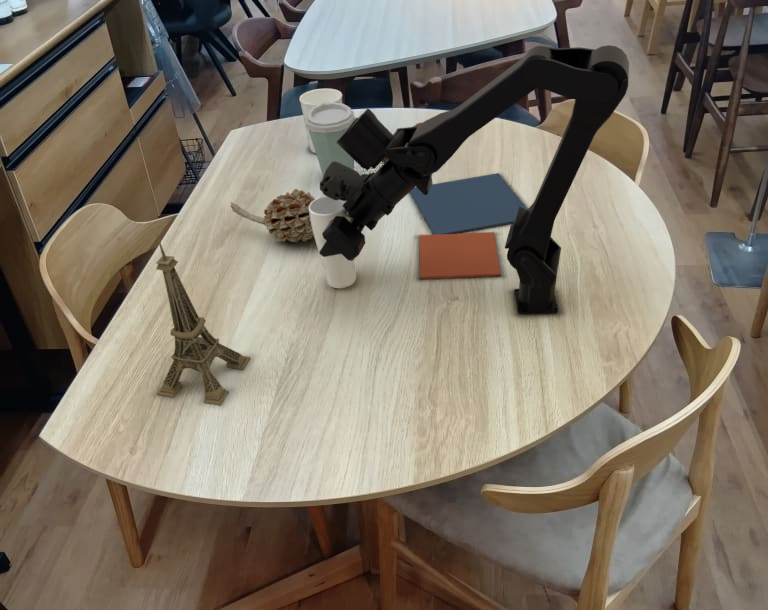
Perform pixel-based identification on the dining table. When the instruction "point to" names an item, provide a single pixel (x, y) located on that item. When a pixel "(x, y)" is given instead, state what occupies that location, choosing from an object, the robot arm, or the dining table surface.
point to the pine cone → (285, 216)
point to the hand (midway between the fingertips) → (328, 243)
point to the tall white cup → (334, 266)
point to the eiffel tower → (192, 340)
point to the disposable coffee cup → (329, 132)
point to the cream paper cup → (317, 103)
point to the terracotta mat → (458, 255)
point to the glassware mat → (468, 204)
